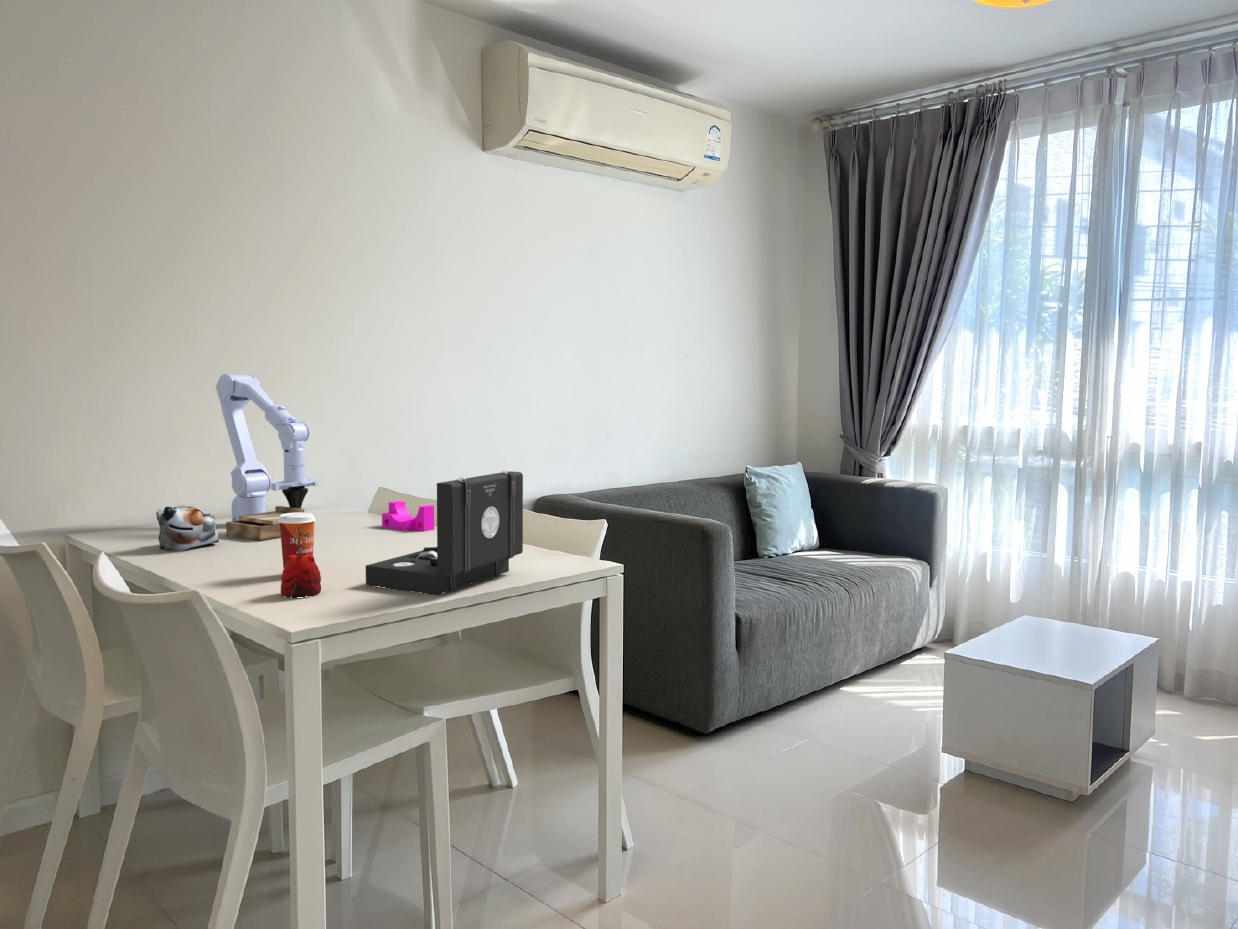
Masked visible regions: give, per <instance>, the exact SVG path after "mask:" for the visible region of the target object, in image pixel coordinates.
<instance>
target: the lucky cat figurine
mask: <svg viewBox="0 0 1238 929" xmlns="http://www.w3.org/2000/svg"><path fill="white" fill-rule="evenodd" d="M163 508H164V509H163ZM163 508H160V509H158V510H157V511H156V512H155V514H156V520H157V522H158V525H159V534H158V543H159V547H160V548H159V549H160V550H165V551H168V552H172V551H173V552H184V551H186V550H189V549H193V548H195V547H200V546H204V545H208V544H215V543H219V542H220V537H219V531H218V530H217V529H216V528H217V524H216V516H215V514H212V513H211V512H209V513H208V512H205V510H203V509H201V508H199V507H197V506H195V505H193V504H180V505H176V506H173V507H172V506H165V507H163Z"/></svg>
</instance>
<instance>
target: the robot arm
mask: <svg viewBox="0 0 1238 929" xmlns="http://www.w3.org/2000/svg"><path fill="white" fill-rule="evenodd" d="M215 389H216V391H217V392H216V393H217V395H218V396H217V397H218V398H219V399H218V400H219V403H220V408H221V412H222V416H223V419H224V423H225V426H226V431H227V434H228V437H229V442H230V444H231V448H232V451H233V455H234V459H235V463H236V466H235V467H234V468H232V469H233V470H231V472H230V476H231V488H232V490H233V493H234V494H235V495H236V496H234V498H233V499H232V501H231V521H238V520H239V516H244V515H251V514H258V513H265V512H267V505H266V504H267V502H266V500H267V499H266V498H267V497H266V496H267V495H269V494H268V492H269V491H270V490H271V491H274V492H277V491H281V490H282V491H281V492H282V493H283V495H284V497H285V498H286V500H287V503H288V507H292V508H300V509H302V507H303V506H302V505H303V502H304V500H305V497H306V495H307V494H308V492H309V489H308V487H317V486H319V480H318V479H317V478H306V476H307V475H306V472H307V471H306V442H307V441H308V440H309V437H310V429H309V427H308V425H307V424H306V422H304V421H299V420H296V418H295V416H293V415H292V414H291V413H290V412H289V411H287V409H286V407H285V405H282V404H275V403H274V401H272V399H271V398H270V397H269V395H268V394H267V393H266V392H265V391H264V390H263V388H262V387H261V382H260V380H258V379H257V378H256V376H255V375H254V374H251V373H249V374H227V373H224V374H221V376H219V378H218V380H217V383H216V385H215ZM250 401H251V402H252V403H253V404H254V405H256V406H257V407H258V408H259V409H260V410H262V412H264V413H265V414H264V417H265V421H267V422H268V423H269V425H271V426H272V427H273V428H274V430H276V431H277V436H278V439H279V441H280V444H281V447H280V448H282V450H283V454H282V455H283V480H282V481H277V482H273V481H272V478H271V475H270V474H269V473H268V471H267V468H266V466H265V465H264V464H263V463H262V462H259V461H258V460H257V456H256V453H255V450H254V446H253V443H252V438H251V435H250V431H249V428H248V425H247V424H248V423H247V420H246V418H245V414H244V411H243V409H244V407H245V406H246V405H248V404H249V402H250Z"/></svg>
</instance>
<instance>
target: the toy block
mask: <svg viewBox="0 0 1238 929" xmlns="http://www.w3.org/2000/svg"><path fill="white" fill-rule="evenodd" d="M415 515H416V516H415V517H413V516H412V515H411V514H410V513H409V511H408V509H407V506H406V501H402V500H395V501H394V500H393V501H389V502H388V512H384V513H381V528H385V529H390V530H396V529H397V530H398V531H404V532H409V531H418V532H429V530H430V531H435V505H432V504H426V505H421V506H420V505H419V506H418V511H417V514H415Z"/></svg>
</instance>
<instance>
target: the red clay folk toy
mask: <svg viewBox="0 0 1238 929" xmlns="http://www.w3.org/2000/svg"><path fill="white" fill-rule="evenodd" d="M297 529H298V530H297ZM297 529H296V530H297V535H298V543H297V547H298V552H297V556H295V555H290V556H289V557H288V562H287V563H286V565H285V567H284V568H283V570H282V572H281V573H282V574H281V579H280V580H281V581H280V582H281V583H280V594H281V596H282V597H283V596H286V597H285V598H287V597H292V598H297V597H305V596H312V597H315V596H314V595H316V596H318V595H319V593H320V594H321V591H322V584H321V582H322V576H321V570H320V569H319V566H318V565H317V563H316V561H315V560H316V559H315V556H314V555H313V556H312V555H308V556H303V555H302V553H301V550H300V546H301V543H300V538H301V535H302V536H306V537H308V538H310V533H307V534H302V533H301V531H300V530H299V526H298V528H297ZM317 594H318V595H317Z"/></svg>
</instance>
